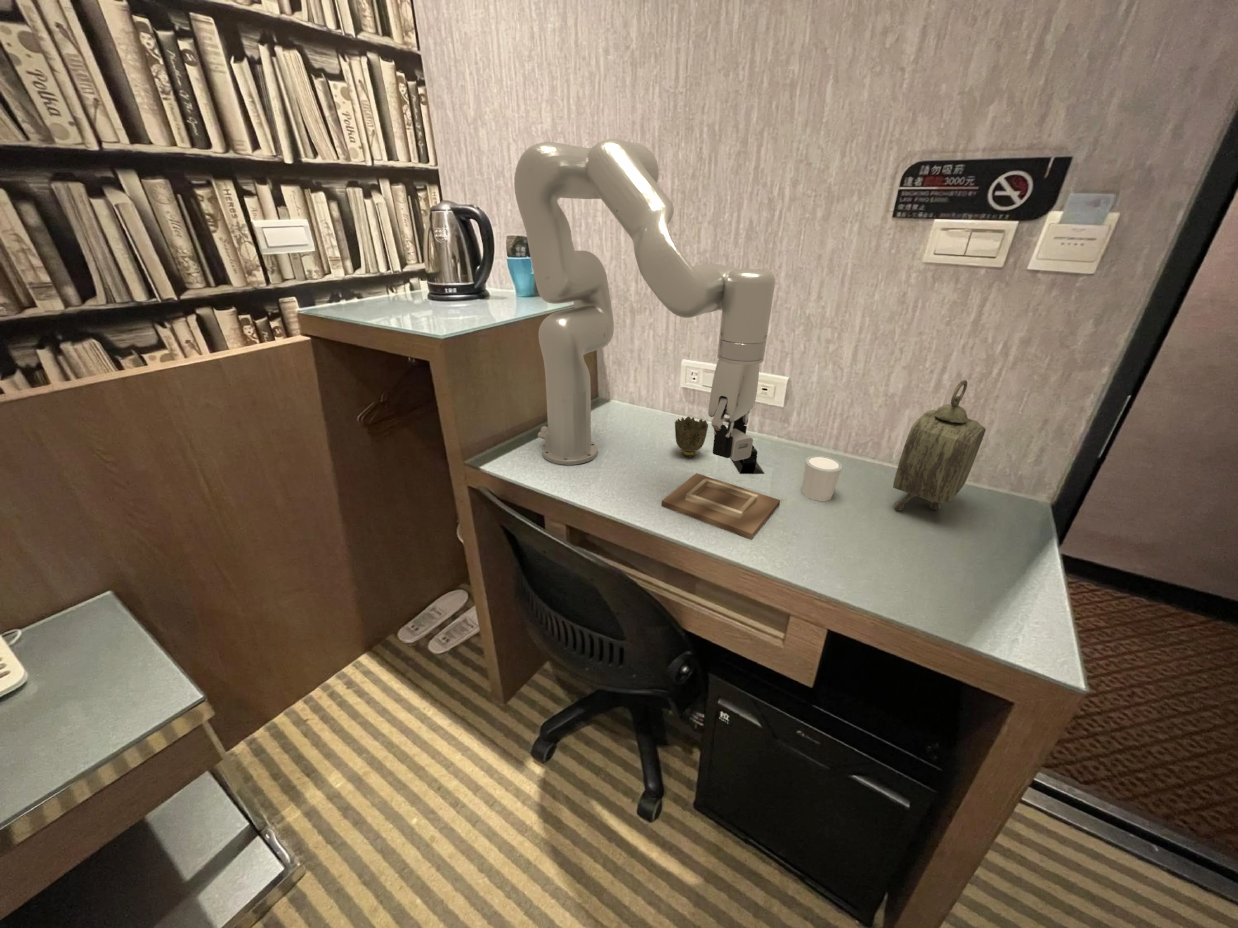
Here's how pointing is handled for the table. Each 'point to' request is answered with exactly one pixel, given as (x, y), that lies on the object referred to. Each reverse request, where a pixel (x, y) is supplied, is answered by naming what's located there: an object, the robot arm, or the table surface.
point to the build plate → (748, 464)
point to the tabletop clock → (939, 453)
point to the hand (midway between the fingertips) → (728, 449)
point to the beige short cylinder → (820, 477)
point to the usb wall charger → (740, 445)
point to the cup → (690, 435)
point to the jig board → (722, 505)
